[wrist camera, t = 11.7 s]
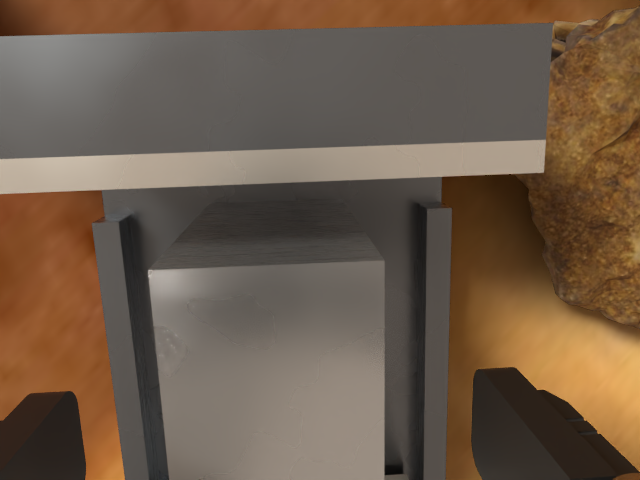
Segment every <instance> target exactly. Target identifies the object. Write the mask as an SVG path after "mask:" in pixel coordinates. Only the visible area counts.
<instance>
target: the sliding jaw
mask: <svg viewBox="0 0 640 480" xmlns="http://www.w3.org/2000/svg"><path fill="white" fill-rule="evenodd" d="M384 480H409V479H408V476H407V474H398V475H384Z"/></svg>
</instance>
